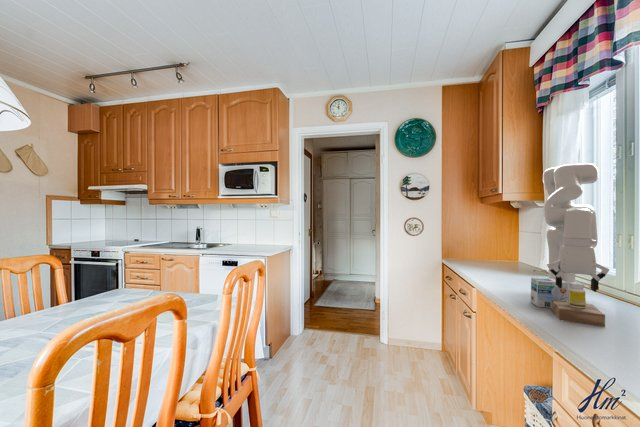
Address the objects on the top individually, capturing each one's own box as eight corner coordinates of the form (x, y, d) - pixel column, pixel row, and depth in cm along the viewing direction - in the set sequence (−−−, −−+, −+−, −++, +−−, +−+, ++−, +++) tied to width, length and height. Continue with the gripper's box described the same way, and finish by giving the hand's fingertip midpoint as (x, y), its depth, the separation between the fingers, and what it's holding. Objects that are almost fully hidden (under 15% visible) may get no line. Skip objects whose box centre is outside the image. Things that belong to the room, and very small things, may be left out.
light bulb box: (537, 307, 117) (537, 280, 117) (529, 302, 123) (530, 277, 123) (568, 309, 114) (568, 282, 114) (559, 304, 120) (559, 278, 120)
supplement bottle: (588, 309, 102) (588, 285, 102) (573, 308, 103) (572, 284, 104) (580, 304, 107) (579, 282, 107) (565, 304, 108) (565, 281, 108)
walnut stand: (551, 309, 113) (551, 299, 113) (592, 315, 108) (592, 304, 108) (559, 320, 103) (559, 309, 103) (605, 326, 97) (605, 314, 97)
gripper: (604, 242, 104) (603, 289, 105) (545, 240, 112) (544, 283, 113) (613, 245, 98) (612, 295, 98) (549, 242, 106) (549, 288, 106)
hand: (576, 289), depth 106 cm, fingers open, 9 cm apart
